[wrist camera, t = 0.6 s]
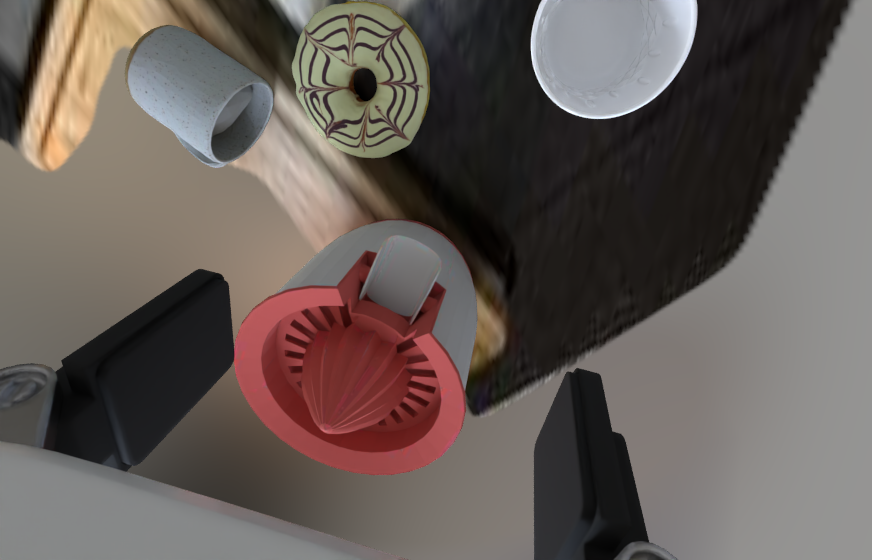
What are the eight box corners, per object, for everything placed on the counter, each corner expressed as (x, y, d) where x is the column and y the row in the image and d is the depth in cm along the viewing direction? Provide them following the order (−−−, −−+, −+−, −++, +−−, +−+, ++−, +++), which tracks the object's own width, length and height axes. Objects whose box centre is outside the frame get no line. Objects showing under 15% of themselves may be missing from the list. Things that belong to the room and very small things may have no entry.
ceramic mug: (196, 18, 35) (117, 13, 28) (285, 76, 36) (228, 85, 29) (172, 132, 40) (100, 151, 34) (249, 181, 41) (194, 208, 34)
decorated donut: (320, 149, 38) (300, 159, 35) (299, 7, 33) (273, 3, 30) (435, 152, 36) (426, 162, 33) (432, 0, 31) (420, -5, 28)
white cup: (632, -54, 28) (678, -100, 19) (660, 70, 30) (711, 79, 22) (515, 8, 30) (509, -7, 22) (550, 117, 33) (557, 142, 25)
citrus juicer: (529, 229, 38) (527, 382, 21) (447, 361, 47) (398, 547, 29) (368, 148, 37) (227, 236, 20) (316, 297, 46) (187, 449, 29)
